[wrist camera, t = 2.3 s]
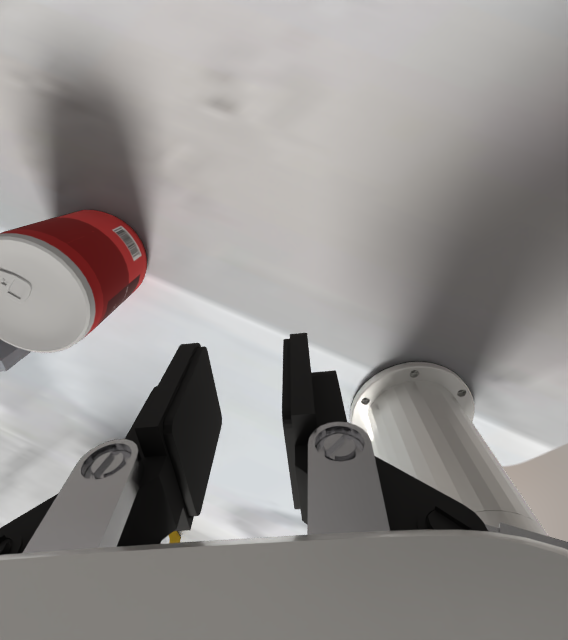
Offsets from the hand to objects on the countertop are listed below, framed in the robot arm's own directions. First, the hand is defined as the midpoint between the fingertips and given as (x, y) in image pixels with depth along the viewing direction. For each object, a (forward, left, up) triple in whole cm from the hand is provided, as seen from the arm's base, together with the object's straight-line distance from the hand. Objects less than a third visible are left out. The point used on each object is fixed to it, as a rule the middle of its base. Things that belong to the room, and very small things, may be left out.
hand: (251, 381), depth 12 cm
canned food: (0, +15, -22) cm, 27 cm away
